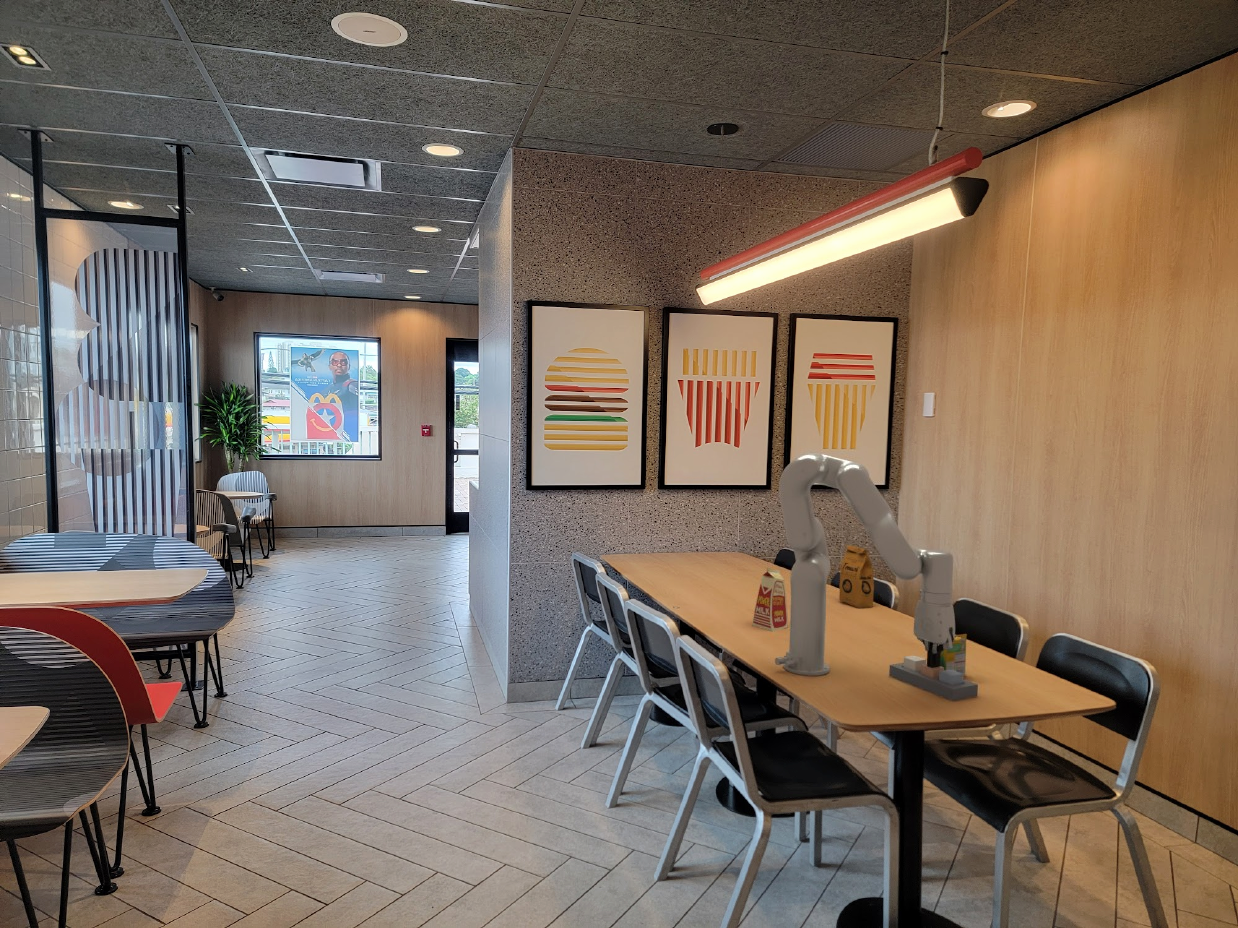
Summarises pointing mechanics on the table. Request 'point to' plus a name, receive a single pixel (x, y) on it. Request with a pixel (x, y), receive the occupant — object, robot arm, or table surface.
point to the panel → (934, 683)
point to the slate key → (951, 677)
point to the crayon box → (955, 655)
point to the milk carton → (771, 603)
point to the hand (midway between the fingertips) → (933, 666)
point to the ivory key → (913, 663)
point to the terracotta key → (931, 671)
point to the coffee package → (856, 578)
